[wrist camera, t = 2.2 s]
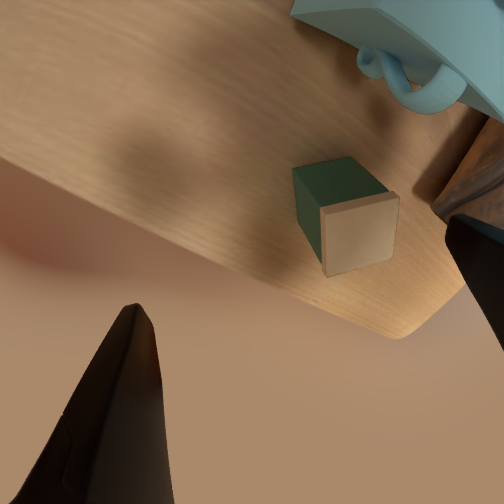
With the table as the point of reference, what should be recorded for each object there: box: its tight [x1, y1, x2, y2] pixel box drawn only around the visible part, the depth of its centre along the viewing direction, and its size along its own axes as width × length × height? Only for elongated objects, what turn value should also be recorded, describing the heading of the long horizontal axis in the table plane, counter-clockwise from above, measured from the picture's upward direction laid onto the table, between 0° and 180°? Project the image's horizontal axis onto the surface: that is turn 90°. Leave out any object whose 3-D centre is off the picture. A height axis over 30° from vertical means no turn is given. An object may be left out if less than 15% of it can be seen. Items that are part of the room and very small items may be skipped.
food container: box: [292, 157, 400, 278], centre depth 20 cm, size 5×5×6 cm
